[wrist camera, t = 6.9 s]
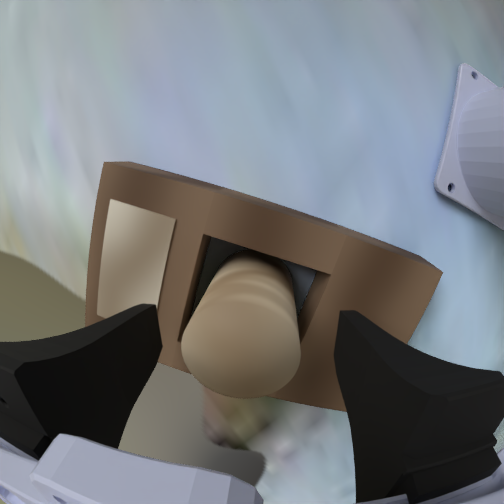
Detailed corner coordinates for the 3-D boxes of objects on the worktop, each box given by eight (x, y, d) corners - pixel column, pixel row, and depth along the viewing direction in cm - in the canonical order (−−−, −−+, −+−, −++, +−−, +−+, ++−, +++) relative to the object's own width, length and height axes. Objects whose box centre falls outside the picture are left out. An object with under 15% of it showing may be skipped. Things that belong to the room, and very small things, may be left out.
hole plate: (421, 256, 14) (444, 272, 11) (352, 386, 17) (360, 414, 14) (129, 161, 14) (102, 162, 11) (105, 310, 16) (84, 331, 14)
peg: (290, 246, 14) (300, 299, 9) (293, 319, 16) (300, 396, 10) (210, 251, 15) (170, 303, 9) (219, 322, 16) (193, 396, 10)
